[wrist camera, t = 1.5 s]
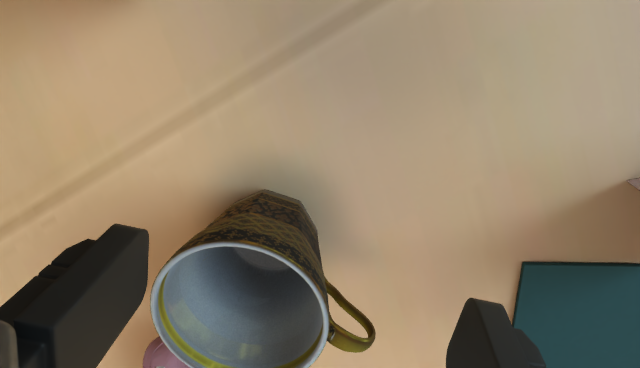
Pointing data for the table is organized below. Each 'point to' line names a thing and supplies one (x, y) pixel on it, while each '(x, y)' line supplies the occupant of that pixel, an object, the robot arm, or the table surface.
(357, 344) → the ceramic cup
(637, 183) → the greeting card
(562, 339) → the placemat
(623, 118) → the table surface
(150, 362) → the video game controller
